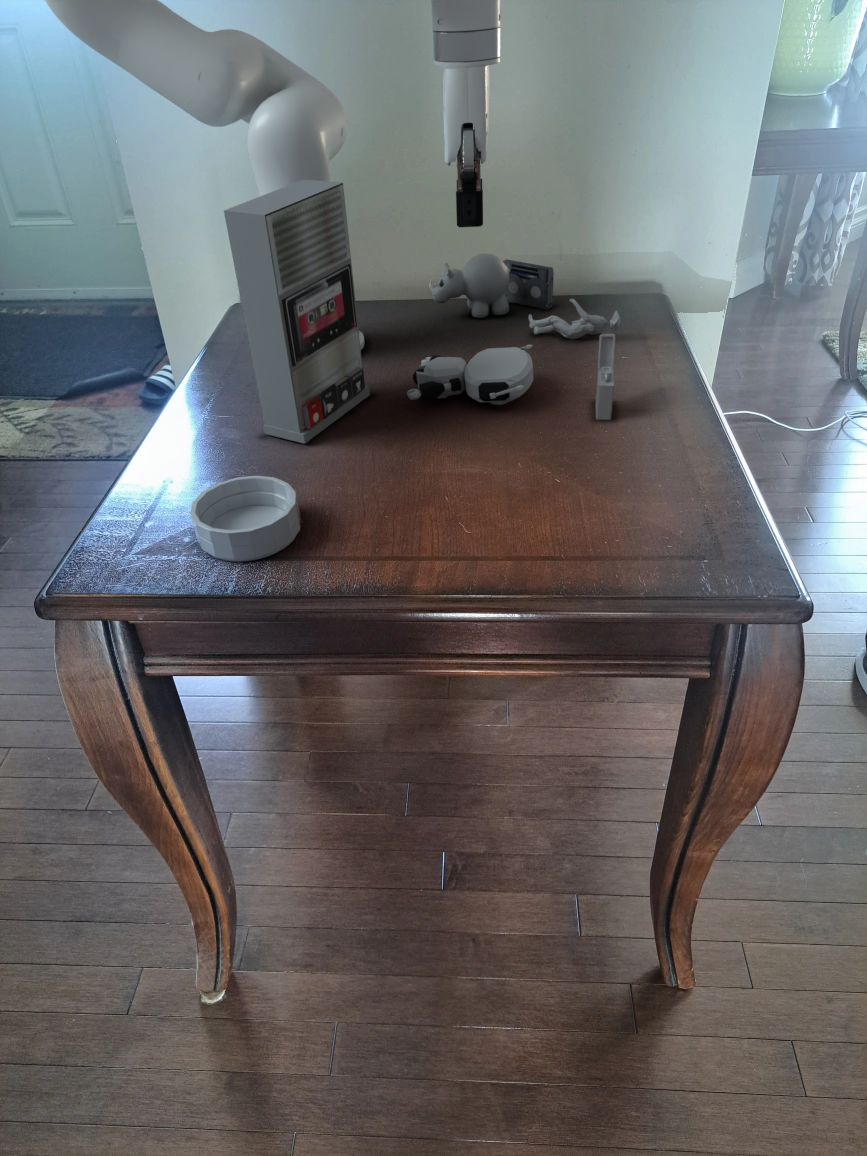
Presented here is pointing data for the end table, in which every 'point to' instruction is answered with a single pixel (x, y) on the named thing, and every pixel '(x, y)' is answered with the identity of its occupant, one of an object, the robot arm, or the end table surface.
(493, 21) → the robot arm
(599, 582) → the end table surface
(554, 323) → the soldier figure
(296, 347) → the cassette tape recorder
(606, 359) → the lighter
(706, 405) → the end table surface
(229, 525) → the grey shallow bowl
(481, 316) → the chubby cartoon animal
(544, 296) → the mini dv tape
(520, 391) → the robot toy
